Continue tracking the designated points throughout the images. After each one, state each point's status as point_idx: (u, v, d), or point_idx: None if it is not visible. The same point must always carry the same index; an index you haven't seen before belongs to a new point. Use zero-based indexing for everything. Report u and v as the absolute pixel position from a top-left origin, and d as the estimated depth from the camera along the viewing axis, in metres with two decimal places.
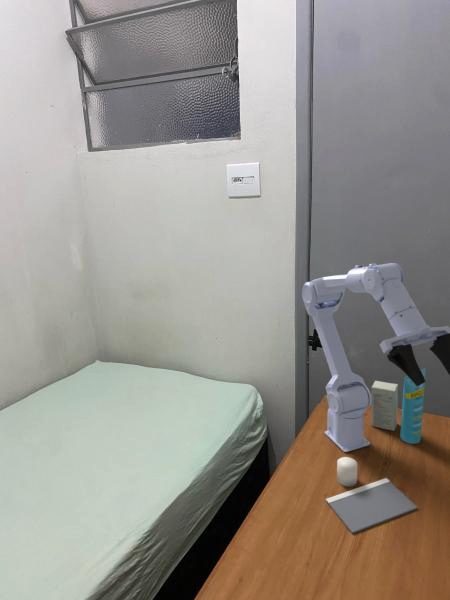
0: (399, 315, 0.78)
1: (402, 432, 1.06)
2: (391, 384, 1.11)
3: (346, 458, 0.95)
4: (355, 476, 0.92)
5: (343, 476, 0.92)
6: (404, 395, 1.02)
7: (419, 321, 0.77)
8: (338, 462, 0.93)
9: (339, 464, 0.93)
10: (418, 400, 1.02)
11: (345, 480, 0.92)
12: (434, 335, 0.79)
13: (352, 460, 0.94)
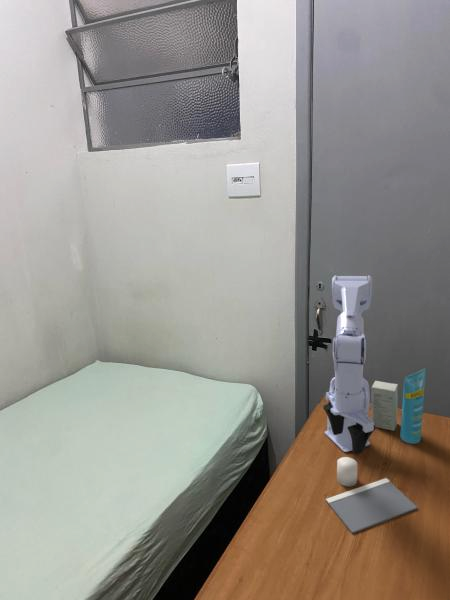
0: None
1: (402, 432, 1.06)
2: (391, 384, 1.11)
3: (346, 458, 0.95)
4: (355, 476, 0.92)
5: (343, 476, 0.92)
6: (404, 395, 1.02)
7: (338, 404, 0.87)
8: (338, 462, 0.93)
9: (339, 464, 0.93)
10: (418, 400, 1.02)
11: (345, 480, 0.92)
12: None
13: (352, 460, 0.94)
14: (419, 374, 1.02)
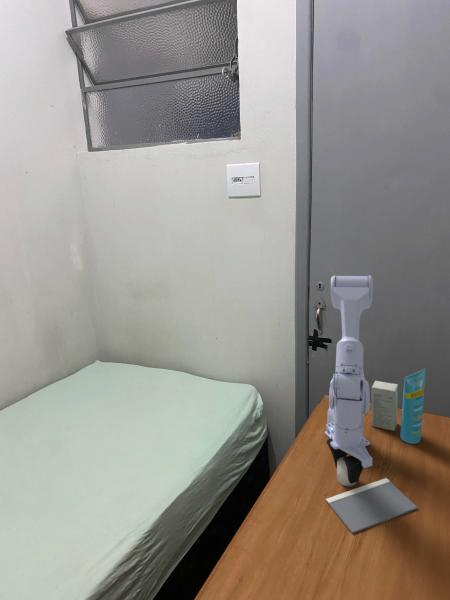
0: None
1: (402, 432, 1.06)
2: (391, 384, 1.11)
3: None
4: None
5: (343, 476, 0.92)
6: (404, 395, 1.02)
7: (337, 438, 0.90)
8: (338, 462, 0.93)
9: (339, 464, 0.93)
10: (418, 400, 1.02)
11: (345, 480, 0.92)
12: None
13: None
14: (419, 374, 1.02)
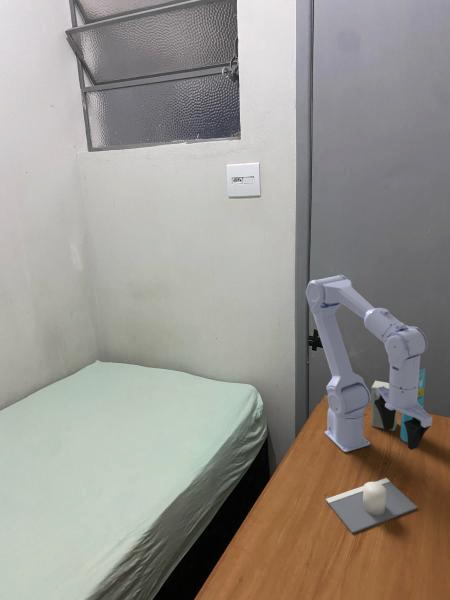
0: None
1: (402, 432, 1.06)
2: None
3: (373, 483, 0.86)
4: (384, 503, 0.83)
5: (371, 504, 0.83)
6: None
7: (393, 399, 0.87)
8: (364, 488, 0.85)
9: (366, 490, 0.84)
10: (418, 400, 1.02)
11: (373, 508, 0.83)
12: None
13: (380, 485, 0.85)
14: (419, 374, 1.02)
